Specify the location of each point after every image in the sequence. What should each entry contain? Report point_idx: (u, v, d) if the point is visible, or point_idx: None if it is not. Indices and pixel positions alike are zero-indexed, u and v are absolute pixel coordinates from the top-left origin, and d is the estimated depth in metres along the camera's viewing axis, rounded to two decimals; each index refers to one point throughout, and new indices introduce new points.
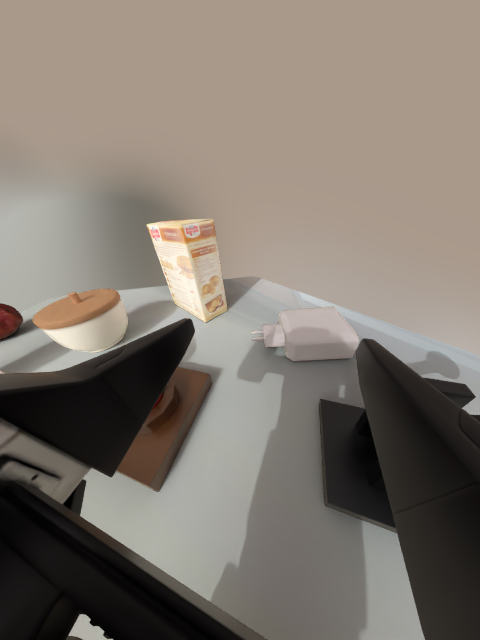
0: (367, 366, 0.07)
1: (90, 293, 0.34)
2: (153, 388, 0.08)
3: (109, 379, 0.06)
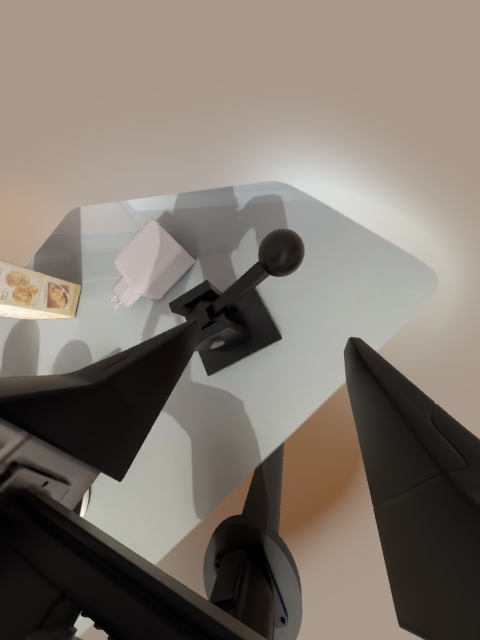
0: (352, 364, 0.07)
1: None
2: (161, 390, 0.08)
3: (119, 382, 0.06)
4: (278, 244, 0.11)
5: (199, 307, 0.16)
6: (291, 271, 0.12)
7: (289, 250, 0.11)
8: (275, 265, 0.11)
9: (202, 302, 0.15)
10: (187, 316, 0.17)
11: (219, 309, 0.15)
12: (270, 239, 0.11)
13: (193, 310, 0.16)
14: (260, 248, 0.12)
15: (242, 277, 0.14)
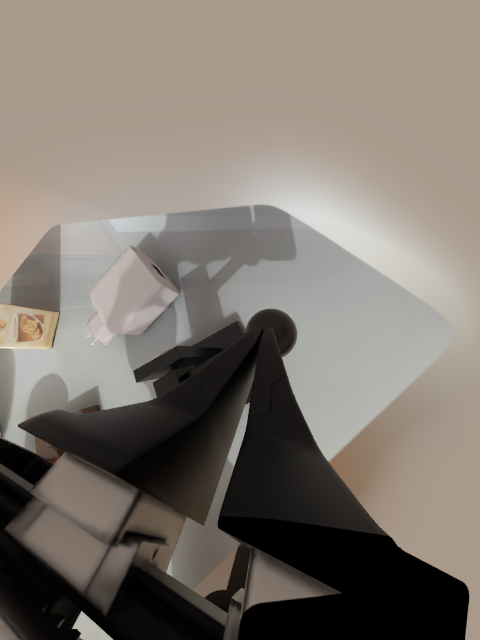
0: None
1: None
2: (237, 412, 0.07)
3: (215, 409, 0.05)
4: None
5: (171, 377, 0.13)
6: (282, 356, 0.10)
7: (282, 341, 0.09)
8: None
9: (175, 372, 0.13)
10: (155, 384, 0.14)
11: None
12: (261, 325, 0.10)
13: (164, 378, 0.13)
14: (249, 329, 0.10)
15: None
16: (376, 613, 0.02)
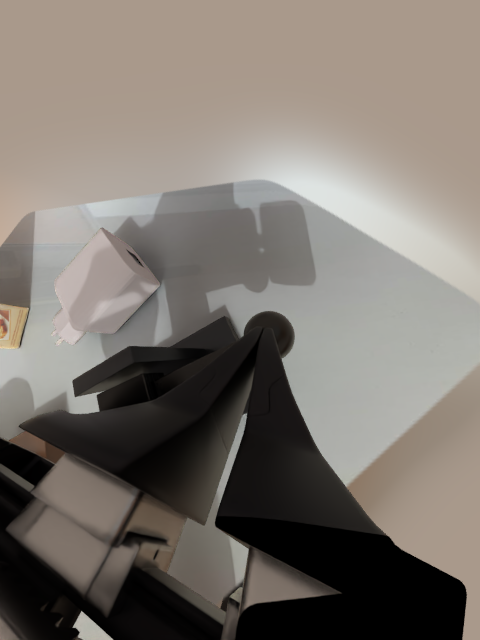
0: None
1: None
2: (238, 412, 0.07)
3: (216, 409, 0.05)
4: (279, 330, 0.09)
5: (135, 384, 0.10)
6: None
7: (288, 339, 0.10)
8: None
9: (143, 377, 0.10)
10: (102, 396, 0.09)
11: None
12: (270, 322, 0.10)
13: (120, 387, 0.10)
14: (253, 326, 0.10)
15: (218, 352, 0.10)
16: (374, 612, 0.02)
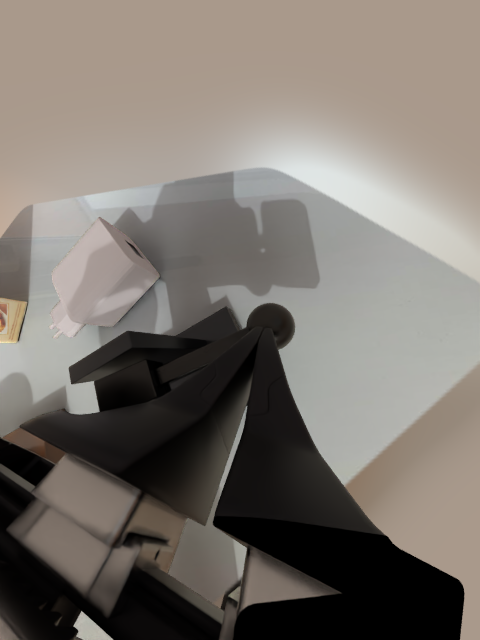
0: None
1: None
2: (239, 412, 0.07)
3: (216, 409, 0.05)
4: (283, 320, 0.10)
5: (138, 370, 0.09)
6: None
7: (290, 328, 0.10)
8: None
9: (147, 363, 0.09)
10: (100, 382, 0.09)
11: (174, 377, 0.10)
12: (274, 312, 0.10)
13: (121, 373, 0.09)
14: (258, 316, 0.10)
15: (222, 340, 0.11)
16: (371, 611, 0.02)
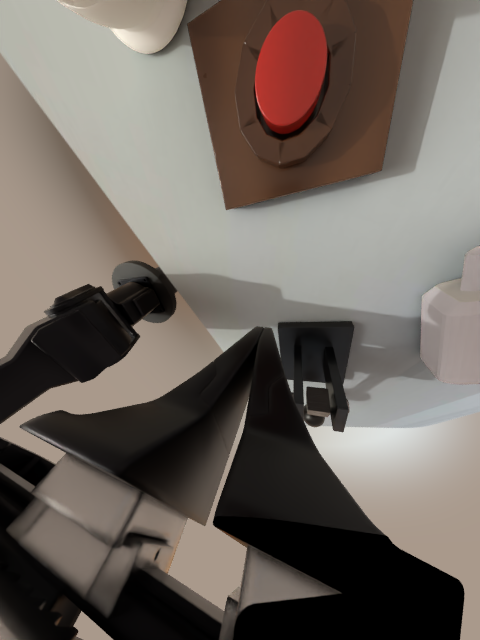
0: None
1: None
2: (239, 411, 0.07)
3: (217, 409, 0.05)
4: (312, 426, 0.26)
5: (324, 416, 0.19)
6: None
7: None
8: (306, 421, 0.25)
9: (325, 416, 0.19)
10: (328, 413, 0.18)
11: None
12: None
13: (326, 415, 0.18)
14: (319, 424, 0.25)
15: None
16: (371, 611, 0.02)
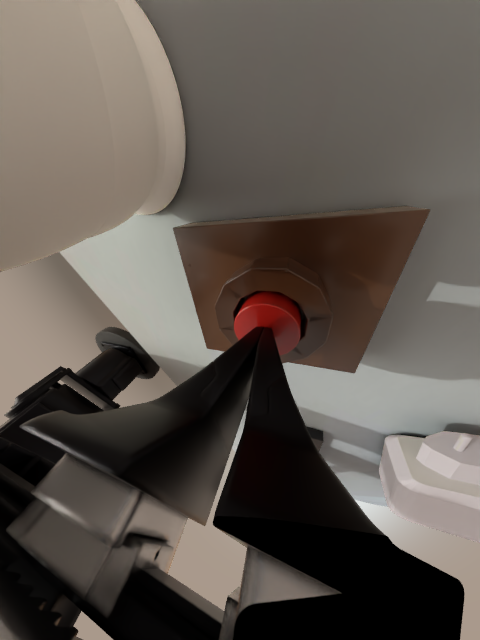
0: None
1: None
2: (239, 412, 0.07)
3: (217, 409, 0.05)
4: None
5: None
6: None
7: None
8: None
9: None
10: None
11: None
12: None
13: None
14: None
15: None
16: (372, 610, 0.02)
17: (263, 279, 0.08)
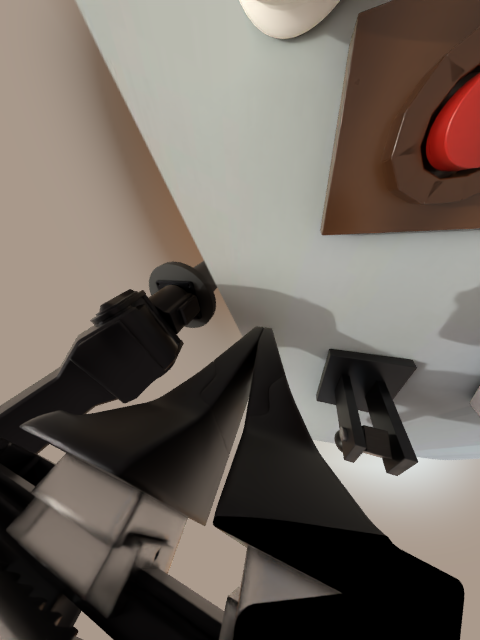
0: None
1: None
2: (239, 412, 0.07)
3: (217, 409, 0.05)
4: None
5: (377, 456, 0.19)
6: None
7: None
8: (340, 448, 0.25)
9: (376, 455, 0.19)
10: (388, 458, 0.17)
11: None
12: None
13: (383, 457, 0.18)
14: None
15: None
16: (371, 611, 0.02)
17: None
